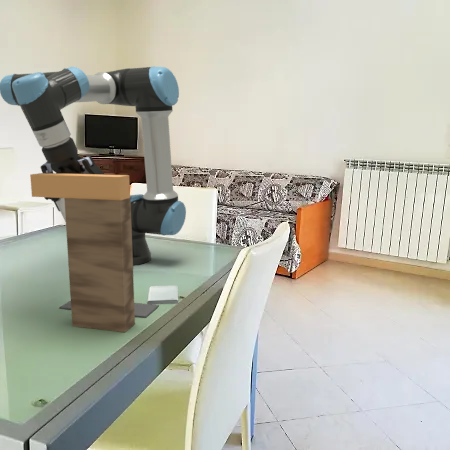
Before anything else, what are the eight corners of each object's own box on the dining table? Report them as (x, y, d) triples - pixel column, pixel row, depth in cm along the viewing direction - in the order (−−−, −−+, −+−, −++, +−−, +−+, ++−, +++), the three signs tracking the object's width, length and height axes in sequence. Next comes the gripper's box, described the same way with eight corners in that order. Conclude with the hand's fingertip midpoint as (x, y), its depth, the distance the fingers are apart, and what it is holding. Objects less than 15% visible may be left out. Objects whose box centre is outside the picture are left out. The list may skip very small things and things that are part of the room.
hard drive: (178, 299, 123) (177, 284, 135) (146, 300, 122) (149, 285, 134) (178, 305, 124) (177, 290, 136) (147, 306, 123) (149, 291, 135)
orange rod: (44, 194, 110) (42, 173, 109) (129, 197, 104) (129, 175, 103) (31, 196, 105) (30, 174, 104) (120, 200, 100) (119, 176, 99)
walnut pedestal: (84, 318, 113) (77, 195, 108) (134, 323, 110) (130, 197, 104) (72, 326, 109) (64, 198, 103) (125, 332, 105) (120, 200, 100)
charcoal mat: (76, 298, 127) (76, 296, 127) (158, 306, 121) (158, 305, 121) (59, 308, 119) (59, 307, 119) (145, 318, 113) (145, 316, 113)
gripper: (5, 155, 110) (44, 229, 121) (91, 141, 101) (126, 224, 111) (25, 142, 116) (61, 214, 127) (108, 128, 107) (139, 207, 117)
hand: (91, 219), depth 119 cm, fingers open, 13 cm apart
